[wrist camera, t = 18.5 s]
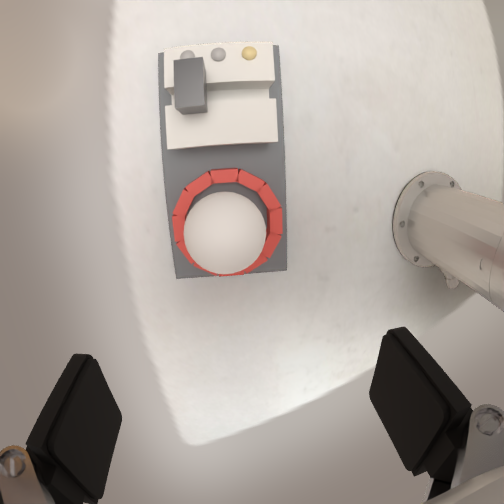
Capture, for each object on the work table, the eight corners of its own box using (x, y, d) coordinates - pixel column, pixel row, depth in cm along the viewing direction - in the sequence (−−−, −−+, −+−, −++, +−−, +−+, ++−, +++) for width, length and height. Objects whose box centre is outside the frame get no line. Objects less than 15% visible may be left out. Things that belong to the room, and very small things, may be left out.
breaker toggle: (209, 117, 25) (204, 105, 18) (187, 119, 25) (174, 108, 18) (208, 80, 24) (202, 56, 17) (186, 82, 24) (173, 60, 17)
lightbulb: (243, 175, 29) (251, 181, 18) (265, 231, 31) (283, 267, 20) (186, 198, 29) (162, 218, 19) (209, 253, 31) (200, 299, 20)
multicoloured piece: (284, 265, 34) (298, 292, 27) (178, 273, 33) (168, 302, 27) (276, 49, 26) (289, 26, 19) (161, 57, 25) (145, 35, 19)
